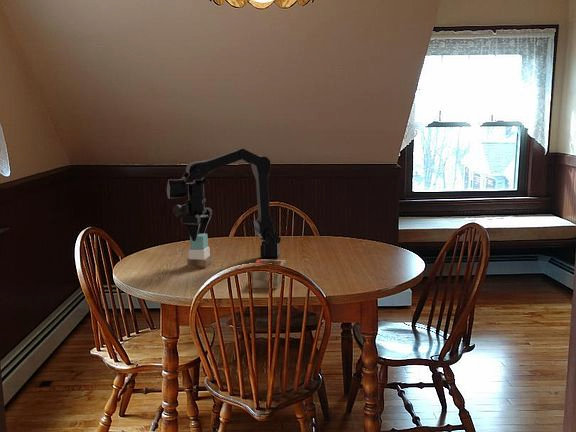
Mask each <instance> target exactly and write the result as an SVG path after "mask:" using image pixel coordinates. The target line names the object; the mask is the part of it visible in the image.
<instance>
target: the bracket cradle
mask: <svg viewBox="0 0 576 432" xmlns="http://www.w3.org/2000/svg"><path fill="white" fill-rule="evenodd" d="M259 260H261V261H262V263H272V264H277V265H281V266H284V267H286V266H287V265H286V261H287V260H286V259H261V258H260V259H259ZM286 268H287V267H286ZM272 275H273V288H272V289H276V290H278V289H279V287H280V286H281V284H282V282H281V280H282V276H281V275H279V274H275V273H273V274H272ZM251 281H252V288H253V289H270V288H269V273H268V272H251Z"/></svg>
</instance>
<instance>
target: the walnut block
mask: <svg viewBox="0 0 576 432" xmlns="http://www.w3.org/2000/svg"><path fill="white" fill-rule="evenodd" d="M186 260H187V261H186V262H187V268H188V269H208V267H210V266H211V265H212V264H213V263H212V254H210V256H209V257H207V258H206V259H205V260H198V259H189V257H188V258H187V259H186ZM211 263H212V264H211Z"/></svg>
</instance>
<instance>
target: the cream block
mask: <svg viewBox="0 0 576 432" xmlns="http://www.w3.org/2000/svg"><path fill="white" fill-rule="evenodd" d="M210 252H211V251H210V246H208V247H207V248H205V249H204V250H192V249H191V248H190V249H188V258H189V259H198V260H205V259H206V258H207V257H209V256H210V255H211V254H210Z"/></svg>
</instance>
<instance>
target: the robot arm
mask: <svg viewBox="0 0 576 432" xmlns="http://www.w3.org/2000/svg"><path fill="white" fill-rule="evenodd" d="M238 161H243V162H245V163H247V164H249V165H250V166H251V170H252V173H253V175H254V179H255V187H256V188H255V189H256V200H257V218H256V220H255V219H254V220H253V225H254V226H253V227H254V228H253V231H254V232H255V234H256V236H258V237H259V238H260V240H261V244H260V246H259V247H260V249H259V250H260V251H259V252H260V259H265V260H278V259H279V257H280V256H281V254H280V248H279V247H280V243H281V237H280V236H279V235H278V234H277V233H276V230H275V227H274V223H273V221H272V218H271V214H270V200H269V199H270V198H269V196H270V195H269V194H270V193H269V183H268V182H269V181H268V180H269V176H270V173H271V166H272V165H271V163H272V162H271V160H270V159H269V157H267V156H265V155H259V154H258V155H257V154H255V153H252V152H250V151H249V150H247V149H246V148H242V147H238V148H236V149H235V150H232V151H229V152H226V153H223V154H220V155H218V156H215V157H212V158H208V159H204V160H203V159H202V160H197V161H191V162H189V163H188V164H187V166H185V173H183V175H182V176H181V178H180V179H173V178H172V179H168V180H167V185H166V195H167V198H168V199H181V198H182V199H183V198H185V196H187V198H188V199H187V200H186V201H185V204H182V205H181V204H176V205H174V206H173V209H172V213H173V214H174V215H175V217H176V218H177V217H179V216H181V215H182V216H181V218H180V224H182V225H183V226H185V227H186V228H187V230H188V232H189V236H191V238H192V241H196V238H197V235H198V233H199V234H206V230H207V228H208V226H209V225H208V224H209V222H210V220H211V218H212V216H213V209H212V208H211V207H205V202H207V198H205V185H209V184H210V182H209V181H208V180H207V179H206V178H205V176H207V175H209V174H210V173H211V172H212V171H214V170H217V169H219V168H222V167H225V166H227V165H230V164H233V163H235V162H238Z"/></svg>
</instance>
